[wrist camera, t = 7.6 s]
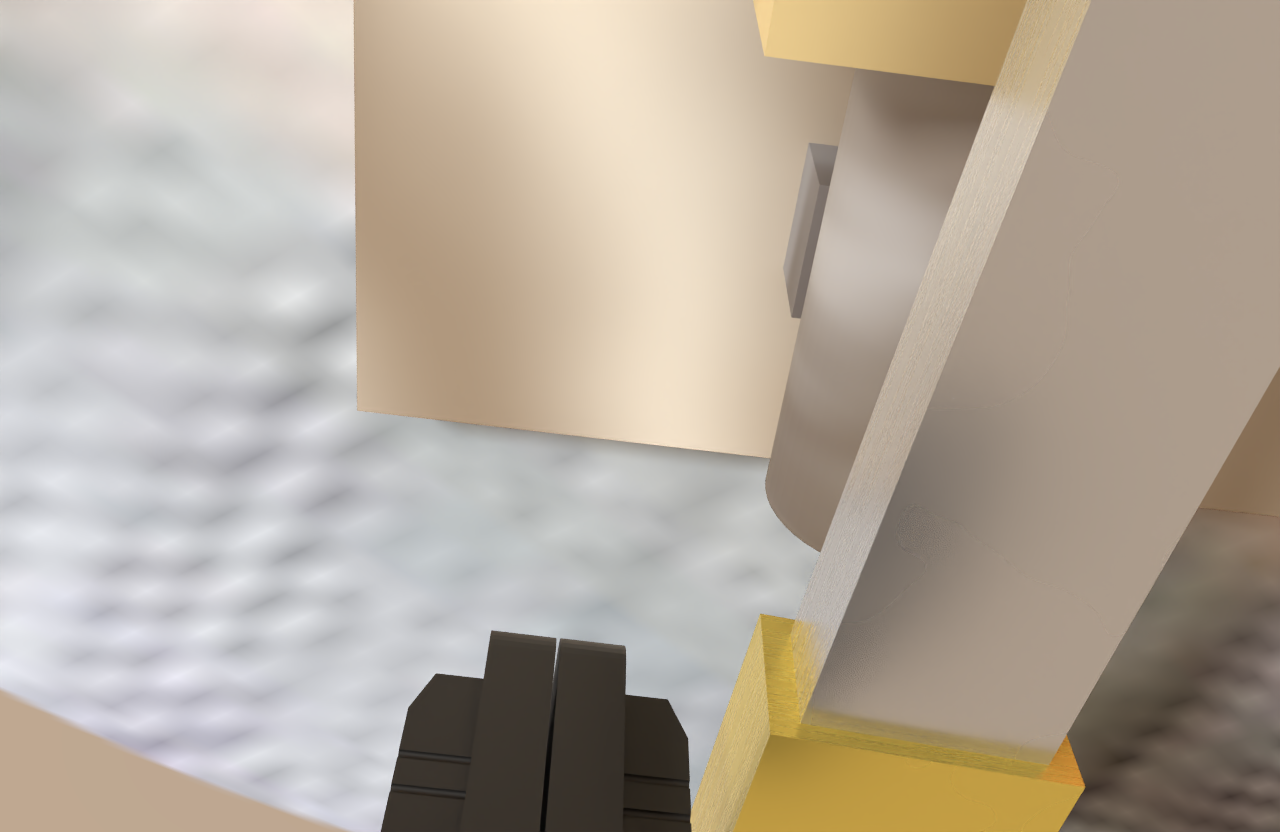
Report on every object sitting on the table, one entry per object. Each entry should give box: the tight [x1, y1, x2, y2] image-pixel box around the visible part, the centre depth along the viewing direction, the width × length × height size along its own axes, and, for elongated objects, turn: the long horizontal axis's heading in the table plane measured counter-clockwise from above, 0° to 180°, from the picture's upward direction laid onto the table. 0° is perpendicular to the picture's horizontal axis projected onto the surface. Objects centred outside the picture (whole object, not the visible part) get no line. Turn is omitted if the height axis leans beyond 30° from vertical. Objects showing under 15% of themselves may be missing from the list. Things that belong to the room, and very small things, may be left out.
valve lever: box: [690, 0, 1280, 832], centre depth 11 cm, size 15×3×3 cm, turn 168°
